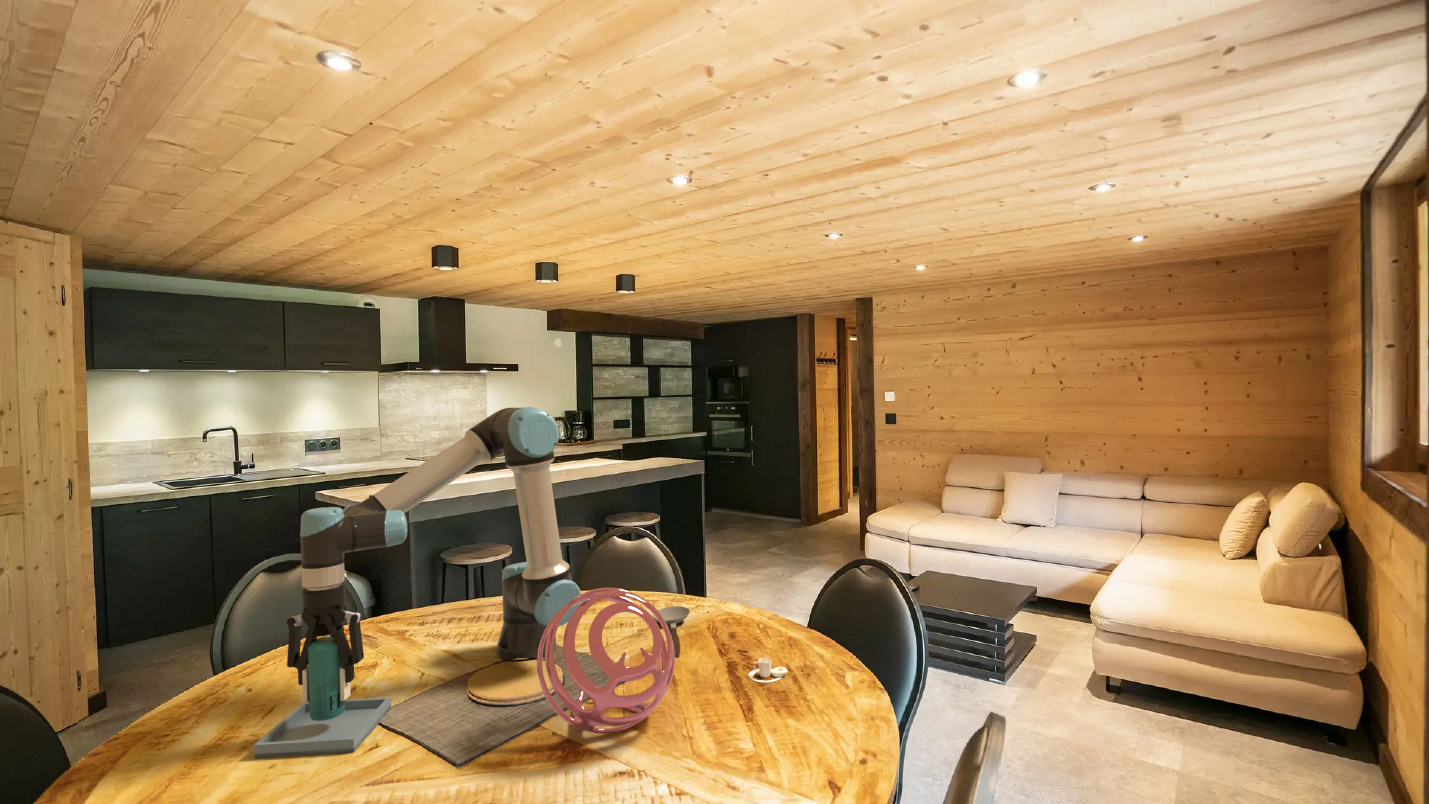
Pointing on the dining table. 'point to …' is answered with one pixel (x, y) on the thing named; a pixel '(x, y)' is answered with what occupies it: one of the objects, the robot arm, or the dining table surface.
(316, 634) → the beverage bottle
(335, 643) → the robot arm
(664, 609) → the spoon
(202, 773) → the dining table surface
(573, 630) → the pink openwork sphere
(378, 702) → the tray
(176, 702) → the dining table surface
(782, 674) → the teacup and saucer
